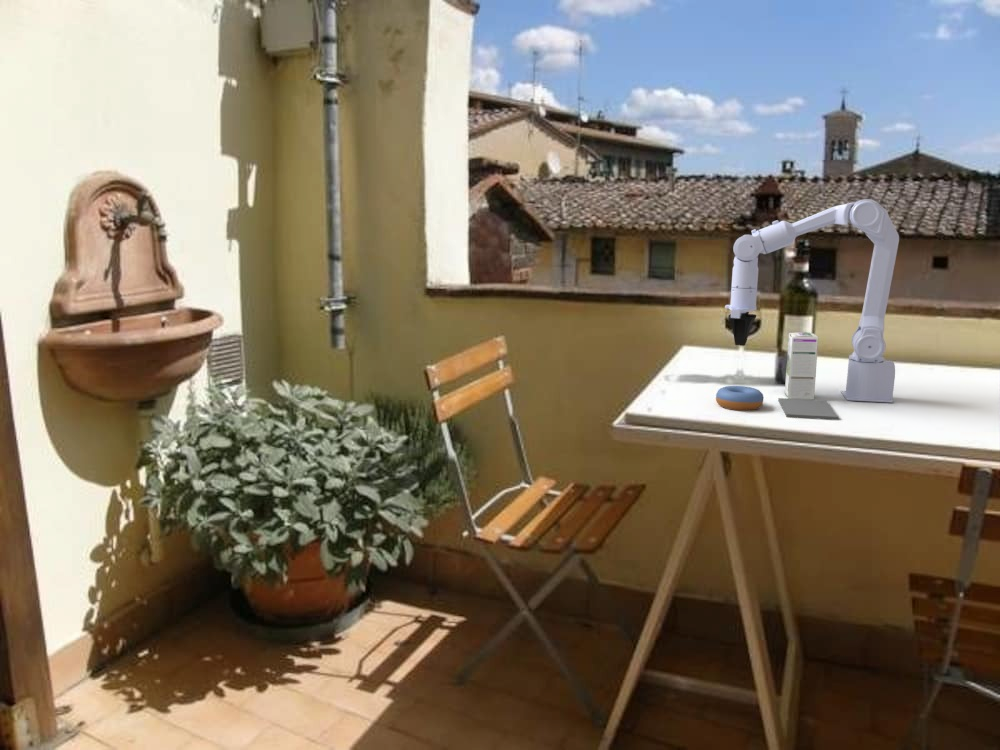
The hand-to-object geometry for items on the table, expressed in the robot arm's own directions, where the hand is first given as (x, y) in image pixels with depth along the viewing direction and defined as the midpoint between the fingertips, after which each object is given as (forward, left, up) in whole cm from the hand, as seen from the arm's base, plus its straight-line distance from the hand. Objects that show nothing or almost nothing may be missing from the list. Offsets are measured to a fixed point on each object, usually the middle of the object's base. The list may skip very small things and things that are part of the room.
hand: (740, 345), depth 185 cm
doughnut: (+1, +17, -11) cm, 20 cm away
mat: (-13, +18, -10) cm, 24 cm away
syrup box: (-13, +6, -11) cm, 18 cm away
